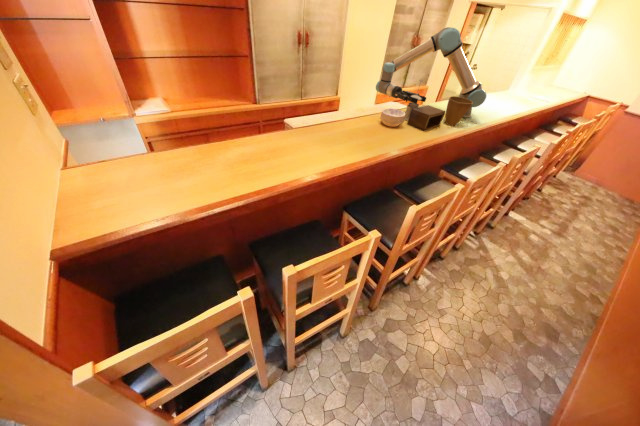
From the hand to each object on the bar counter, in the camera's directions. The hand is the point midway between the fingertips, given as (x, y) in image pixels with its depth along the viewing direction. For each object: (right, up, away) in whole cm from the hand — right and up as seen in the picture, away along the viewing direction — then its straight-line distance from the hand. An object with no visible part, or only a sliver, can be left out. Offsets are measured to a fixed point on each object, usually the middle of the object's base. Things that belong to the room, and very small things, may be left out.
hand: (421, 100), depth 160 cm
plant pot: (+26, -11, +11) cm, 30 cm away
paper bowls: (-21, -16, 0) cm, 26 cm away
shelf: (+3, -15, +4) cm, 16 cm away
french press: (-4, -8, +11) cm, 14 cm away
